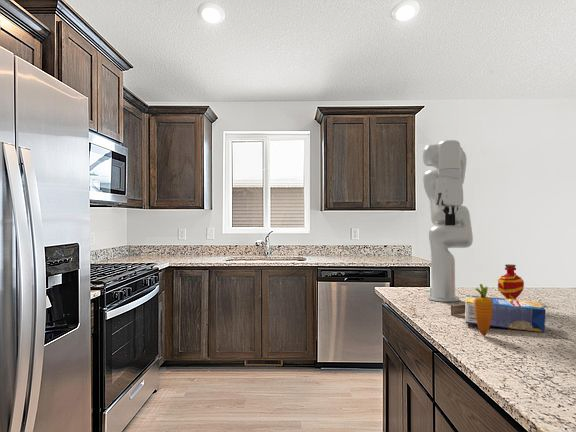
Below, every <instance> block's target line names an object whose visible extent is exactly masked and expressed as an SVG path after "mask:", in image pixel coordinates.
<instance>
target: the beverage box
mask: <svg viewBox="0 0 576 432" xmlns="http://www.w3.org/2000/svg"><path fill="white" fill-rule="evenodd" d="M480 296H481V295H470V294H469V295H468V294H466V295H465V303H466V308H465V318H464V321H465V322H464V323H465V324H468V325H469V324H471V325H477V322H476V317H475V308H474V300H475V298H476V297H480ZM488 297H489V298H490V299H491V300H492V302H493V310H492V320H491V325H490V327H496V328H502V329H513V330H520V331H528V332H538V333H545V331H546V330H545V328H546V327H545V325H546V308H545V307H544V306H543V304H542V303H541V302H540V301H530V300H521V299H520V300H519V299H517V300H512V299H506V298H499V297H490V296H488Z"/></svg>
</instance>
